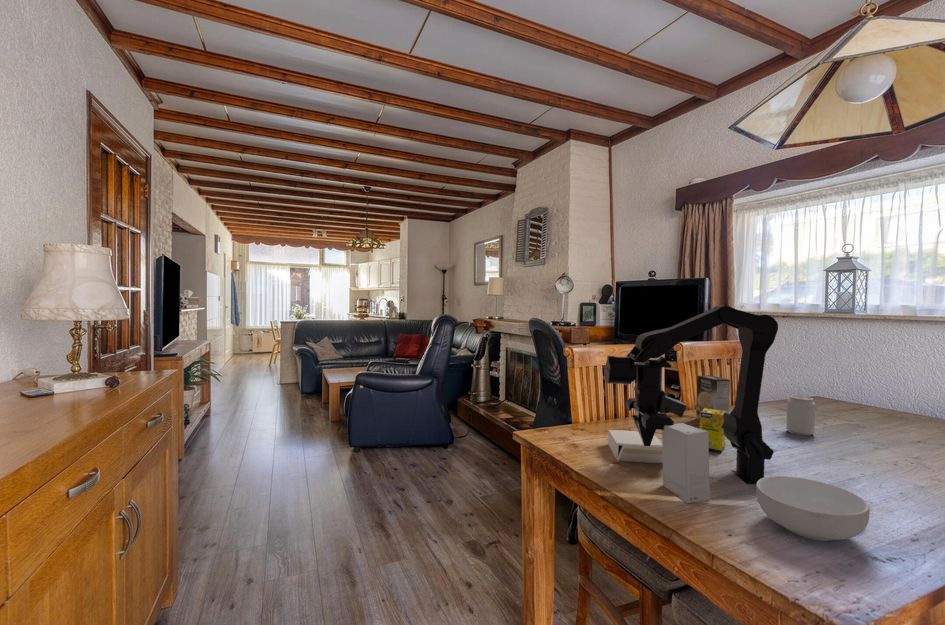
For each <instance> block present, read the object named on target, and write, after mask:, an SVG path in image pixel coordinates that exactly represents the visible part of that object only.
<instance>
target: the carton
mask: <svg viewBox="0 0 945 625" xmlns="http://www.w3.org/2000/svg"><path fill="white" fill-rule="evenodd" d="M607 436H608V438H607V445H608V447H609V448H610V450H611V452H612V454H613V456H614V458H615V459H616V460H617V458H618V456H619V447H622V446H623V445H637V446H644V444H643V442H642V439H641V437H640V434H639V432H638V430H637V431H636V430H635V431H634V430H622V429H621V430H620V429H619V430H618V429H616V430H615V429H608V433H607ZM650 446H655V447H662V441H661V440H660V439H659V438H658V437H657V436H656V435H655V434H654V436H653V439H652V442H651V445H650Z"/></svg>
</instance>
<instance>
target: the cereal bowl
mask: <svg viewBox="0 0 945 625" xmlns="http://www.w3.org/2000/svg"><path fill="white" fill-rule="evenodd" d="M755 485H756V488H755V490H756V499H757V503H758V504H759V507H760V508H761V510H762V512H764V514H766V516H767V517H768V518H769V519H770V520H772V521H774V522H775V523H776V524H778V525H780V526H781V527H784V528H785V529H787V530H788V531H790V532H791V533H793V534H796V535H798V536H800V537H803V538H806V539H809V540H813V541H818V542H819V541H820V542H829V541H830V542H831V541H835V540H836V541H838V540H847V539H848V540H849V539H851V538H855V537H857V536H859V535H861V534H862V533H863V532H865V530H866V529H867V526H868V524H869V522H870V521H869V520H870V504H868V502H867V501H866V500H865V499H864V498H863V497H861V496H859V495H857V494H855V493H854V492H852V491H849V490H847V489H844V488H842V487H839V486H836V485H833V484H830V483H826V482H823V481H818V480H814V479H809V478H803V477H796V476H786V475H785V476H784V475H772V476H764V478H762V479H760V480H758V481H757V483H755Z"/></svg>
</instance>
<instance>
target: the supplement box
mask: <svg viewBox="0 0 945 625" xmlns="http://www.w3.org/2000/svg"><path fill="white" fill-rule="evenodd" d="M724 412H726V411H720V410H713V409H707V408H704V409H703V410H702V411H701V412H700V420H699V429H701V430H704V431H707V432H708V446H709V450H711V451H710V452H713V451H716V452H715V453H718V452H721V453H720V454H722V453H723V451H724V449H725V447H726V446H725V445H726V436H725V435H724V429H722V428H721V426H722V425H723V422H724V418H723V415H724Z"/></svg>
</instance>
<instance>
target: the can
mask: <svg viewBox="0 0 945 625" xmlns="http://www.w3.org/2000/svg"><path fill="white" fill-rule="evenodd" d="M786 401H787V402H786V404H787V405H786V426H785V427H786V430H787V431H788V432H789V433H791V434H793V435H797V436H805V437H808V436H812V435H813V434H815V432H816V431H815V430H816V428H815V427H816V405H817V404H816V403H815V401H814V398H812V397H809V396H805V395H797V394H796V395H790V396H789V398H788V399H787V400H786Z"/></svg>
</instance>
